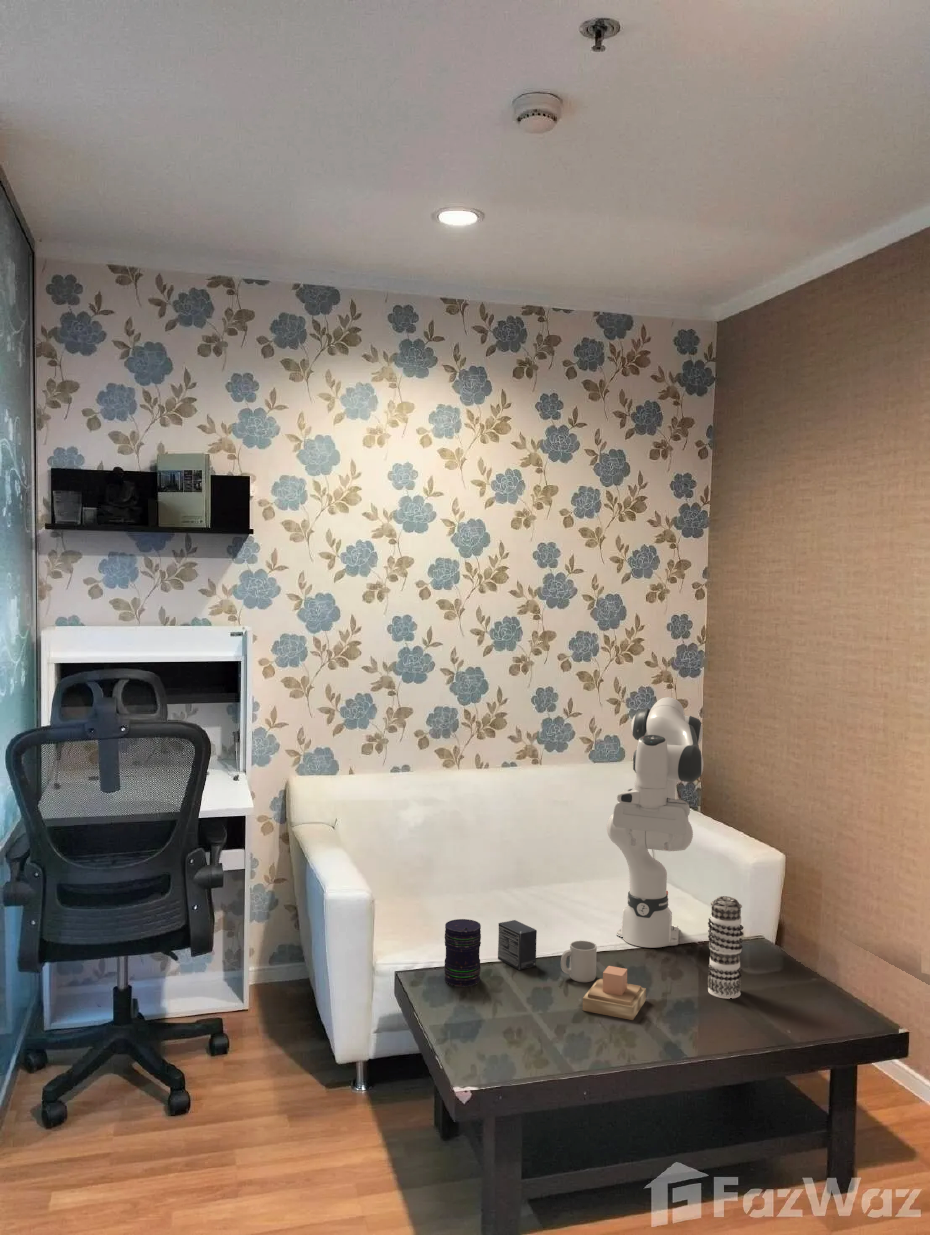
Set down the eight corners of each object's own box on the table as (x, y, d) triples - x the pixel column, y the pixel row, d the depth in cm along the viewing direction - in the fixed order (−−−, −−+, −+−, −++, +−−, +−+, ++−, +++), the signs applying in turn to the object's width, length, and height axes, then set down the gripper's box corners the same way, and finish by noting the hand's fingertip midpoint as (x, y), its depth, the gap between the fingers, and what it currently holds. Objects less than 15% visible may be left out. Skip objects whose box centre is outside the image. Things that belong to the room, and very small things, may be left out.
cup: (599, 981, 273) (600, 949, 273) (564, 984, 271) (564, 951, 271) (591, 971, 280) (591, 940, 280) (556, 973, 278) (557, 942, 278)
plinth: (597, 991, 267) (597, 976, 266) (645, 1000, 261) (646, 985, 261) (582, 1010, 255) (582, 994, 255) (632, 1020, 249) (633, 1004, 249)
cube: (608, 984, 261) (608, 965, 261) (626, 988, 259) (627, 969, 259) (602, 991, 257) (603, 972, 256) (621, 995, 255) (622, 975, 254)
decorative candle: (699, 992, 267) (701, 899, 266) (717, 982, 274) (719, 891, 273) (731, 1002, 261) (733, 907, 260) (748, 992, 268) (750, 899, 267)
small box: (537, 966, 284) (538, 929, 283) (519, 971, 280) (519, 933, 279) (514, 954, 292) (515, 918, 292) (496, 958, 289) (497, 922, 288)
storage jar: (439, 974, 277) (440, 920, 276) (473, 970, 280) (474, 917, 279) (450, 988, 267) (451, 933, 266) (485, 984, 270) (486, 929, 270)
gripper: (692, 798, 269) (691, 849, 270) (617, 790, 278) (616, 840, 278) (687, 802, 264) (686, 855, 264) (611, 794, 272) (610, 845, 272)
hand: (649, 847), depth 271 cm, fingers open, 8 cm apart
